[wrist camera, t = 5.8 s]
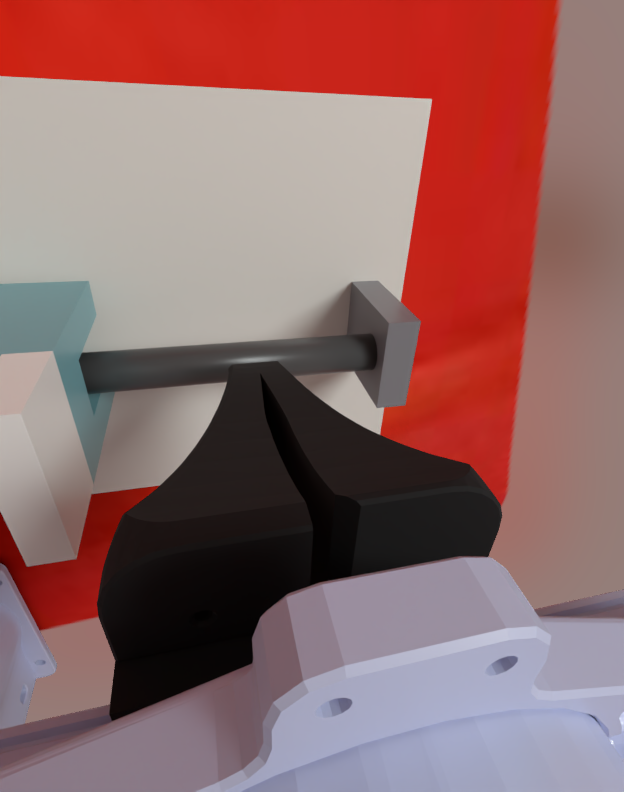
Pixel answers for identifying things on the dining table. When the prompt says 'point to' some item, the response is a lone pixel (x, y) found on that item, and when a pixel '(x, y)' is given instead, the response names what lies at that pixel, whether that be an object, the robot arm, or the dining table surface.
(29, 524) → the slider block
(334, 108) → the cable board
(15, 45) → the dining table surface
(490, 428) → the dining table surface
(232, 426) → the robot arm
